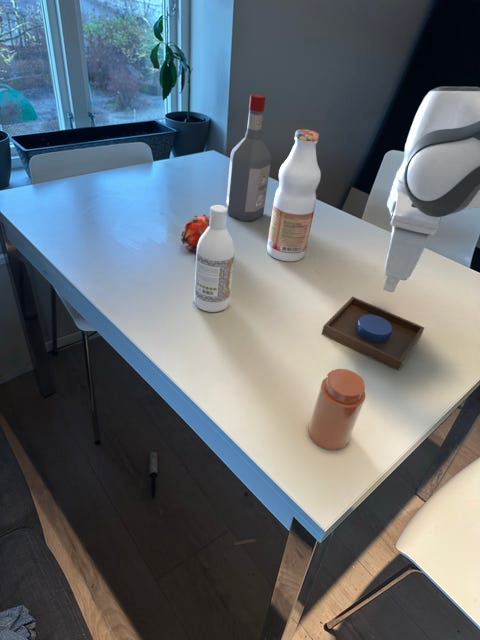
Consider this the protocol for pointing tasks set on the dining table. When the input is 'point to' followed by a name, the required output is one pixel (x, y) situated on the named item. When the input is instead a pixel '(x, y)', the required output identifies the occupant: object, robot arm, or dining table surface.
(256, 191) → the liquor
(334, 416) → the jar
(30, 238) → the dining table surface
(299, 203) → the fruit juice
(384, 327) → the jar lid
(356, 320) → the tray
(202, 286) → the bath foam
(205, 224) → the dragon fruit
